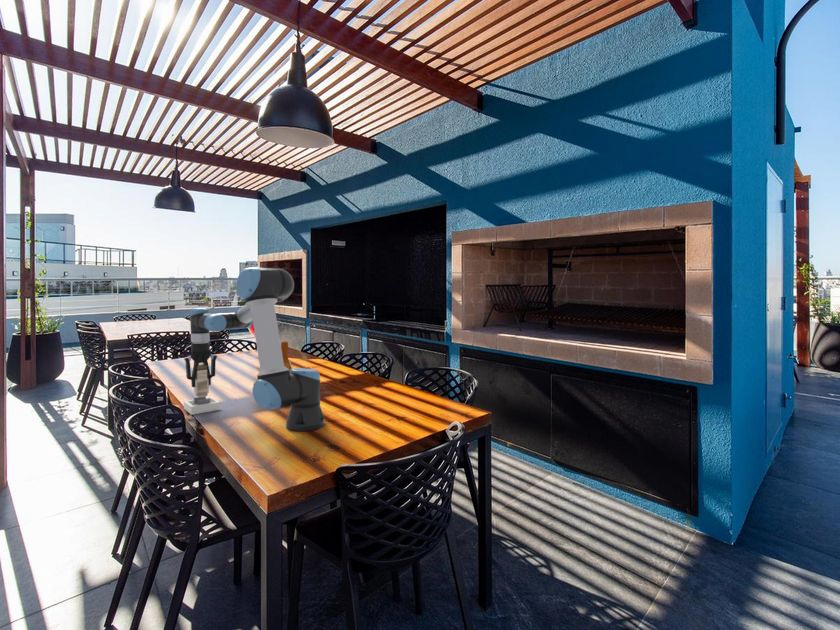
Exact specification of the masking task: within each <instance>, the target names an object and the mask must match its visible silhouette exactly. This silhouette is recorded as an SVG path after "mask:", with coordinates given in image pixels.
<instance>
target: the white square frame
mask: <svg viewBox="0 0 840 630" xmlns="http://www.w3.org/2000/svg"><path fill="white" fill-rule="evenodd" d="M183 409H184V411H186V412H187V413H189V415H191V416H192V415H193V416H194V415H198V414H204V413H209V412H214V411H220V410H221V401H219V399H216V398H215V397H213V396H203V397H197V396H195V397H193V399H190V400H189V399H188V400H184V401H183Z"/></svg>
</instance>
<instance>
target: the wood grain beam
mask: <svg viewBox="0 0 840 630" xmlns="http://www.w3.org/2000/svg"><path fill="white" fill-rule="evenodd" d="M196 380H197V390H198V395H195V397H203V396H206V397H209V395H208V394H209V393H208V391H207V365H204V364H203V363H202V364H201V363H199V365H198V366H197V374H196Z"/></svg>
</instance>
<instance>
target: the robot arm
mask: <svg viewBox="0 0 840 630" xmlns="http://www.w3.org/2000/svg"><path fill="white" fill-rule="evenodd" d="M235 285H236V286H235V287H236V293H237V295H238V297H240V298H242V299H244V302H245V304H244V305H242V306H241V307H240V308H239V309H237V310H236V311H235V312H220V313H210V310H209V308H208V307H197V308H196V307H194V308H191V309H190V312H189V313H190V315H189V319H190V321H189V322H190V324H189V325H190V342H191V344H190V351H191V353H190V354H189V355H188V356H187V357H186V356H185V357H184V358H183V360H184V363H185V373H186V379H187V380H190V381H191V388H193V394H194V396H196V395H198V390H197V380H196V374H197V366H198V365H200V364H201V363H202V364H204V365H207V391H208V394H209V393H210V387H209V386H211V384H212V378H213V377H215V376H216V361H217V357H218V356H217V355H216V354H213V353H211V346H210V345H211V344H210V339H211V337H210V332H212V333H213V332H214V333H215V332H221V331H227V330H239V329H243V330H244V329H247V328H251V327H252V326H253V330H254V337H255V343H256V350H257V355H258V356H257V357H258V362H259V368H260V371H259V372H258V373H257V375H256V376H257V379H256V381H255V382H254V383H253V385H252V389H251V391H252V396H253V399H254V401H255V403H256V404H257V405H258V406H259V408H261V409H263V410H265V411H266V410H268V411H269V410H274V409H275V410H276V409H280V408H282V407H286V406H290V407H289V408H290V409H289V411H288V414H287V417H286V421H285V428H287V429H288V430H291V431H296V432H308V431H314V430H317V429H320V428H322V427H324V425H325V423H326V422H325V419H326V418H325V416H324V414H323V411H322V410H323V409H322V408H321V375H320V371H318V370H316V369H311V368H302V367H301V368H298V367H295V368H292V369H291V370H290V373H289V369H288V368H286V367H285V366H284V362H283V356H282V350H281V340H280V339H281V338H280V332H279V326H278V320H277V313H276V309H275V308H276V307H275V304H277V303H280V302H284V301H285V300H286V299H288V298H289V296H291V295H292V293H294V289H295V280H294V279H293V276H292V275H291V273H289V271H286V270H285V269H282V268H277V267H275V268H273V267H272V268H271V267H269V268H268V267H258V266H254V267H245V268H244V269H242V270H241V271H240V272H239V274H238V276H237V279H236V283H235ZM191 359H192V360H193V367H192V368H191V361H192V360H191ZM209 359H211V360H210V367H209V362H208V361H209ZM191 369H192V371H191Z"/></svg>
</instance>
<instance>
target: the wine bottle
mask: <svg viewBox="0 0 840 630" xmlns="http://www.w3.org/2000/svg"><path fill="white" fill-rule="evenodd" d="M280 344H281V350H282V356H283V362H284V366H285V367H286V368H288V369H289V373H290V370H291V369H293V365H292V363H291V360H290V359H289V355H288V351H289V342H288V341H280Z"/></svg>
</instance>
